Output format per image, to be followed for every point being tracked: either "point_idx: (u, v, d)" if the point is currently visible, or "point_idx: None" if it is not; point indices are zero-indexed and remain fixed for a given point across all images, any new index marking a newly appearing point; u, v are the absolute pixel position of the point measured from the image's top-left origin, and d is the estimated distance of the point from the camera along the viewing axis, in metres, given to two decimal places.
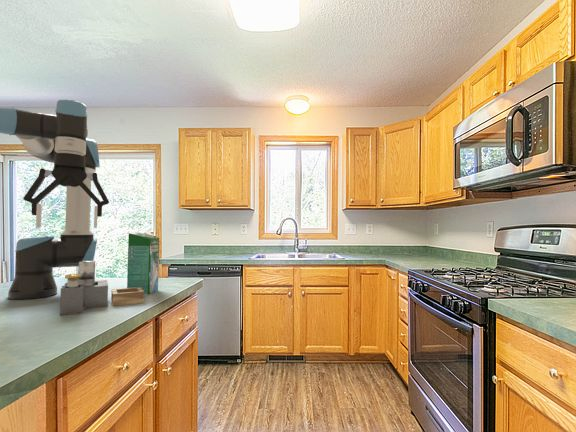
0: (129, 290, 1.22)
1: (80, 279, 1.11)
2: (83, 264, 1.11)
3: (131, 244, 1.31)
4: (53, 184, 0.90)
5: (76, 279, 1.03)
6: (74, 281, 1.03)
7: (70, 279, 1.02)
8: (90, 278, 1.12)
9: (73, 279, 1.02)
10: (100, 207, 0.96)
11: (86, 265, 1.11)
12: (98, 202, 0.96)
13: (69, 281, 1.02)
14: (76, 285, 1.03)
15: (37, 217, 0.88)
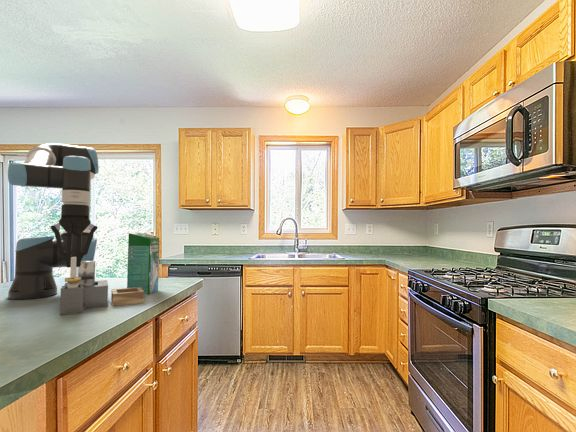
0: (129, 290, 1.22)
1: None
2: (83, 264, 1.11)
3: (131, 244, 1.31)
4: (69, 235, 1.02)
5: (76, 282, 1.03)
6: (74, 284, 1.03)
7: (70, 282, 1.02)
8: (90, 278, 1.12)
9: (73, 282, 1.02)
10: (79, 258, 1.04)
11: (86, 265, 1.11)
12: (78, 253, 1.03)
13: (69, 284, 1.02)
14: None
15: (71, 269, 1.02)
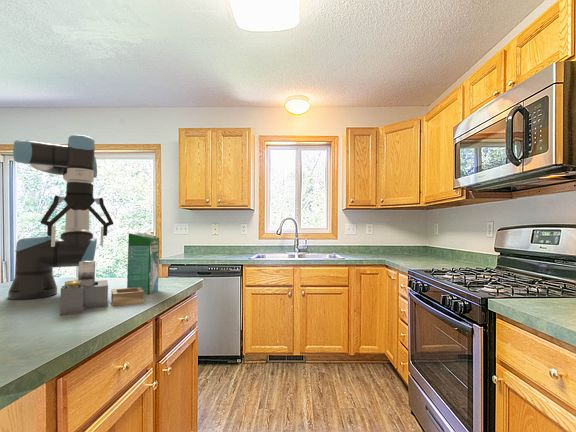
0: (129, 290, 1.22)
1: (80, 279, 1.11)
2: (83, 264, 1.11)
3: (131, 244, 1.31)
4: (65, 209, 1.04)
5: (76, 286, 1.03)
6: None
7: (70, 286, 1.02)
8: (90, 278, 1.12)
9: (73, 286, 1.02)
10: (106, 227, 1.11)
11: (86, 265, 1.11)
12: (104, 223, 1.10)
13: None
14: None
15: (52, 238, 1.03)
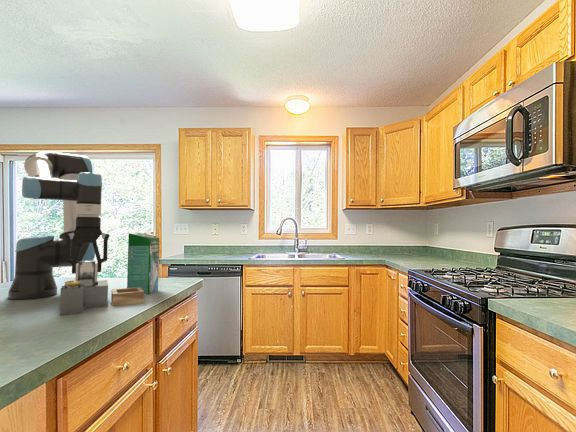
0: (129, 290, 1.22)
1: (80, 279, 1.11)
2: (83, 264, 1.11)
3: (131, 244, 1.31)
4: (80, 244, 1.11)
5: (76, 286, 1.03)
6: None
7: (70, 286, 1.02)
8: (90, 278, 1.12)
9: (73, 286, 1.02)
10: (100, 264, 1.15)
11: (86, 265, 1.11)
12: (99, 260, 1.15)
13: None
14: None
15: (76, 275, 1.11)
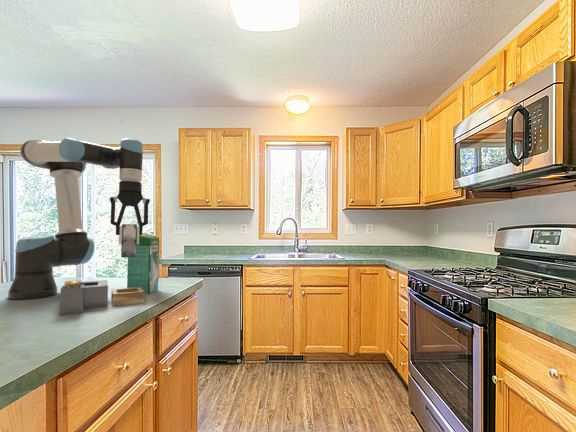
0: (129, 290, 1.22)
1: (124, 240, 1.16)
2: (126, 226, 1.17)
3: None
4: (123, 207, 1.17)
5: (76, 286, 1.03)
6: None
7: (70, 286, 1.02)
8: (133, 240, 1.18)
9: (73, 286, 1.02)
10: (141, 227, 1.20)
11: (129, 227, 1.17)
12: (140, 223, 1.20)
13: None
14: None
15: (120, 236, 1.16)
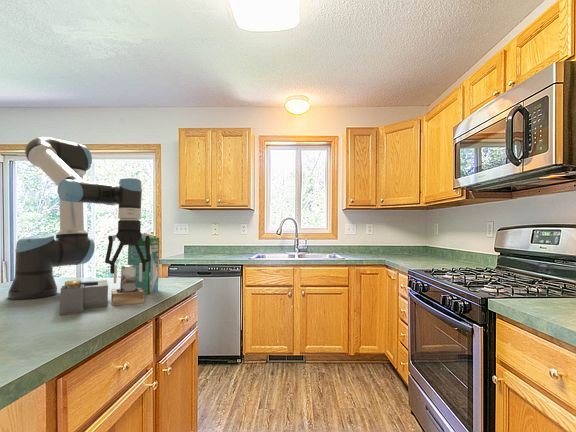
0: None
1: (123, 283, 1.16)
2: (126, 268, 1.16)
3: None
4: (121, 246, 1.16)
5: (76, 286, 1.03)
6: None
7: (70, 286, 1.02)
8: (132, 282, 1.17)
9: (73, 286, 1.02)
10: (144, 264, 1.21)
11: (128, 269, 1.16)
12: (143, 260, 1.20)
13: None
14: None
15: (115, 275, 1.15)
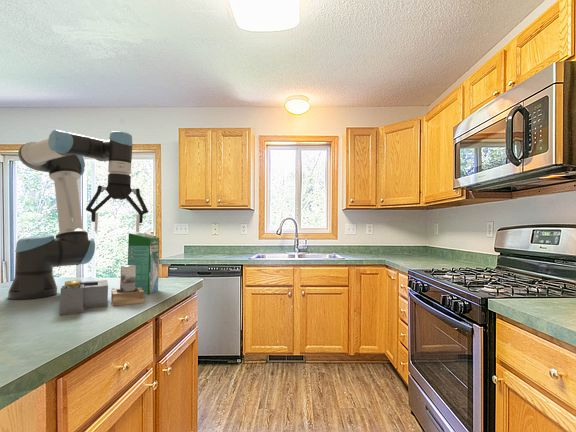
0: None
1: (122, 283, 1.16)
2: (125, 268, 1.16)
3: (131, 244, 1.31)
4: (107, 198, 1.16)
5: (76, 286, 1.03)
6: None
7: (70, 286, 1.02)
8: (132, 282, 1.17)
9: (73, 286, 1.02)
10: (141, 215, 1.22)
11: (128, 269, 1.16)
12: (140, 211, 1.22)
13: None
14: None
15: (95, 223, 1.14)
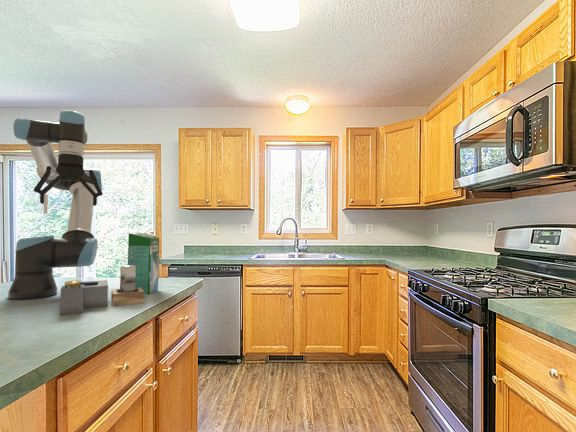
0: None
1: (122, 283, 1.16)
2: (125, 268, 1.16)
3: (131, 244, 1.31)
4: (57, 179, 1.12)
5: (76, 286, 1.03)
6: None
7: (70, 286, 1.02)
8: (131, 282, 1.17)
9: (73, 286, 1.02)
10: (95, 198, 1.18)
11: (128, 269, 1.16)
12: (93, 193, 1.18)
13: None
14: None
15: (44, 205, 1.10)
